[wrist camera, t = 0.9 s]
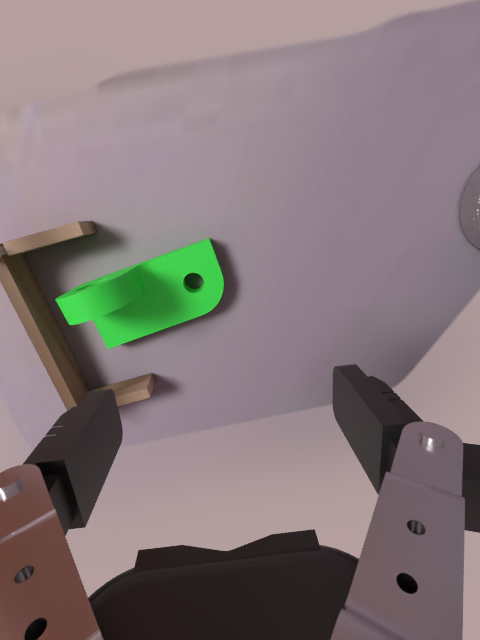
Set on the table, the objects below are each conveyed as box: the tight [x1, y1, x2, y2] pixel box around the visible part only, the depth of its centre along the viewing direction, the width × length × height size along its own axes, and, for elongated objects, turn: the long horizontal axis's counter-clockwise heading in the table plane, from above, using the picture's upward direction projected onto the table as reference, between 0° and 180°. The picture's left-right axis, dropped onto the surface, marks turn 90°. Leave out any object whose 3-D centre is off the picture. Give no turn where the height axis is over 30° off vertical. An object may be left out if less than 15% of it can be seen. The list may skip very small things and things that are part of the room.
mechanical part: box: [55, 238, 224, 349], centre depth 26 cm, size 12×6×8 cm, turn 109°
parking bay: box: [0, 221, 156, 411], centre depth 28 cm, size 8×16×5 cm, turn 15°
